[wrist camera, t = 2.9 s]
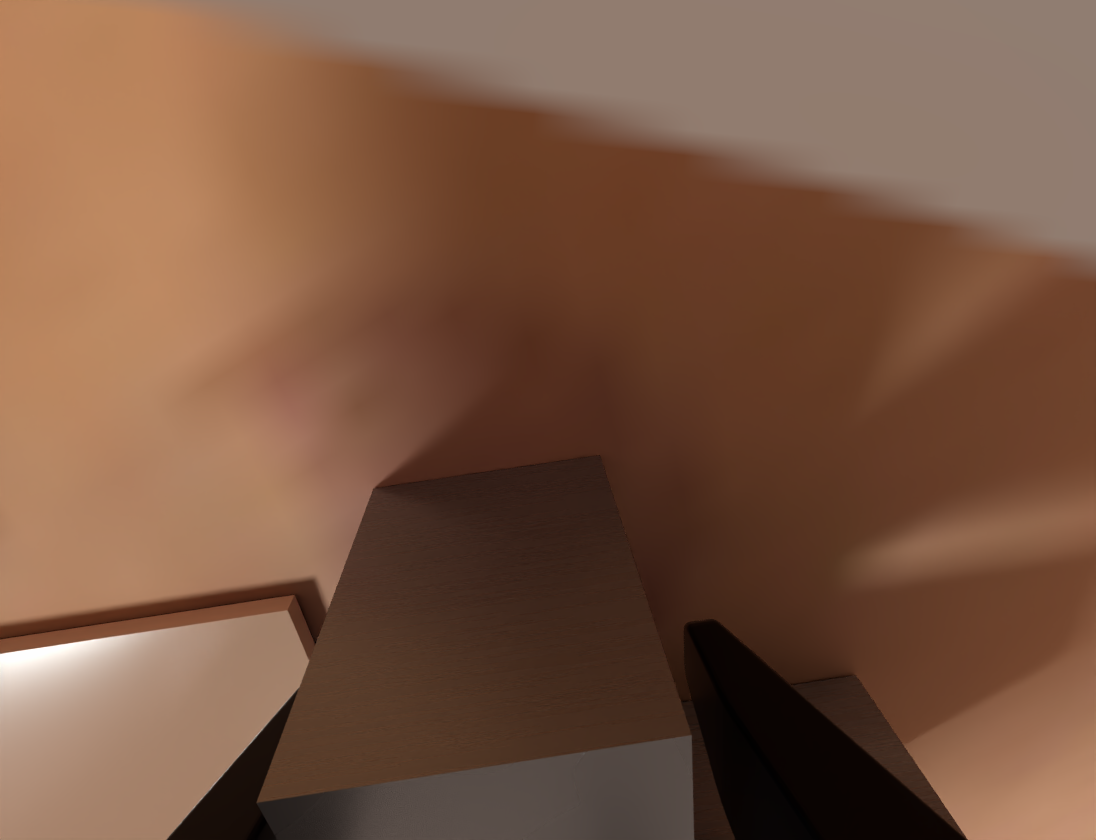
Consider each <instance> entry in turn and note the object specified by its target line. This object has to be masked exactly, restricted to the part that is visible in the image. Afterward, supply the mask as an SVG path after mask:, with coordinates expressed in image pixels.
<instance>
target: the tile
mask: <svg viewBox="0 0 1096 840" xmlns="http://www.w3.org/2000/svg"><path fill="white" fill-rule="evenodd" d="M314 647H315V643H314V641H313V638H312V636H311V633H310V631H309V629H308V626H307V624H306V621H305V619H304V616H303V614H302V612H301V609H300V607H299V604H298V602H297V600H296V597H295V595H290V596H284V597H277V598H270V599H264V600H257V601H251V602H244V603H238V604H231V605H224V606H218V607H211V608H205V609H198V610H191V611H185V612H178V613H172V614H165V615H158V616H152V617H145V618H139V619H132V620H125V621H119V622H112V623H106V624H99V625H92V626H86V627H79V628H73V629H66V630H59V631H53V632H46V633H40V634H33V635H26V636H20V637H13V638H7V639H0V840H166V839H167V838H168V837H169V836H170V834H171V833H172V832H173V831H174V830H175V829H176V828H177V826H178V825H179V824H180V823H181V822H182V821H183V820H184V818H185V817H186V816H187V815H188V814H189V813H190V811H191V810H192V809H193V808H194V807H195V806H196V805H197V803H198V802H199V801H200V800H201V799H202V798H203V797H204V795H205V794H206V793H207V792H208V791H209V790H210V789H211V787H212V786H213V785H214V784H215V783H216V782H217V781H218V779H219V778H220V777H221V776H222V775H223V774H224V773H225V771H226V770H227V769H228V768H229V767H230V766H231V765H232V763H233V762H234V761H235V760H236V759H237V758H238V756H239V755H240V754H241V753H242V752H243V751H244V750H245V748H246V747H247V746H248V745H249V744H250V743H251V742H252V740H253V739H254V738H255V737H256V736H257V735H258V734H259V732H260V731H261V730H262V729H263V728H264V727H265V726H266V724H267V723H268V722H269V721H270V720H271V719H272V718H273V716H274V715H275V714H276V713H277V712H278V711H279V709H280V708H281V707H282V706H283V705H284V704H285V703H286V701H287V700H288V699H289V698H290V697H291V696H292V695H293V693H294V692H295V691H296V690H297V689H298V688H299V687H300V684H301V682H302V679H303V676H304V674H305V671H306V668H307V666H308V663H309V660H310V658H311V655H312V652H313V650H314Z"/></svg>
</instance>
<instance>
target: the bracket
mask: <svg viewBox="0 0 1096 840" xmlns="http://www.w3.org/2000/svg"><path fill="white" fill-rule="evenodd" d="M791 686H792V687H794V688H795V689H796V690H797V691H798V692H799V693H800V694H802V695H803V696H804V697H805V698H806V699H807V700H808V701H810V702H811V703H812V704H813V705H814V706H815V707H816V708H818V709H819V710H820V711H821V712H822V713H823V714H824V715H826V716H827V717H828V718H829V719H830V720H831V721H833V722H834V723H835V724H836V725H837V726H838V727H839V728H841V729H842V730H843V731H844V732H845V733H846V734H847V735H849V736H850V737H851V738H852V739H853V740H854V741H855V742H857V743H858V744H859V745H860V746H861V747H862V748H863V749H865V750H866V751H867V752H868V753H869V754H870V755H871V756H873V757H874V758H875V759H876V760H877V761H878V762H879V763H881V764H882V765H883V766H884V767H885V768H886V769H887V770H889V771H890V772H891V773H892V774H893V775H894V776H895V777H897V778H898V779H899V780H900V781H901V782H902V783H903V784H905V785H906V786H907V787H908V788H909V789H910V790H911V791H913V792H914V793H915V794H916V795H917V796H918V797H919V798H921V799H922V800H923V801H924V802H925V803H926V804H927V805H929V806H930V807H931V808H932V809H933V810H934V811H935V812H937V813H938V814H939V815H940V816H941V817H942V818H943V819H945V820H946V821H947V822H948V823H949V824H950V825H952V826H953V827H954V828H955V829H956V830H957V831H958V832H960V833H961V834H962V835H963V836H964V837H965V835H964V834H963V832H962V831H961V829H960V828H959V826H958V825H957V823H956V822H955V820H954V819H953V817H952V816H951V815H950V813H949V812H948V810H947V809H946V807H945V806H944V804H943V803H942V801H941V800H940V798H939V797H938V795H937V794H936V792H935V791H934V789H933V788H932V787H931V785H930V784H929V782H928V781H927V779H926V778H925V776H924V775H923V773H922V772H921V770H920V769H919V767H918V766H917V764H916V763H915V762H914V760H913V759H912V757H911V756H910V754H909V753H908V751H907V750H906V748H905V747H904V745H903V744H902V742H901V741H900V739H899V738H898V737H897V735H896V734H895V732H894V731H893V729H892V728H891V726H890V725H889V723H888V722H887V720H886V719H885V717H884V716H883V714H882V713H881V711H880V710H879V709H878V707H877V706H876V704H875V703H874V701H873V700H872V698H871V697H870V695H869V694H868V692H867V691H866V689H865V688H864V686H863V685H862V684H861V682H860V681H859V679H858V678H857V676H856V675H854V676H848V677H841V678H835V679H828V680H822V681H815V682H809V683H802V684H796V685H791ZM257 805H258V807H259V808H260V810H261V812H262V814H263V815H264V817H265V819H266V821H267V822H268V824H269V826H270V828H271V829H272V831H273V833H274V835H275V836H276V838H277V840H735V838H734V835H733V833H732V830H731V827H730V825H729V822H728V819H727V817H726V814H725V811H724V808H723V806H722V803H721V799H720V796H719V793H718V790H717V787H716V783H715V780H714V776H713V773H712V769H711V765H710V762H709V758H708V755H707V751H706V748H705V744H704V741H703V737H702V733H701V730H700V726H699V723H698V719H697V716H696V712H695V708H694V705H693V701H686V702H681V701H680V698H679V695H678V692H677V689H676V686H675V683H674V680H673V677H672V674H671V671H670V668H669V665H668V661H667V658H666V655H665V652H664V649H663V646H662V643H661V640H660V637H659V634H658V631H657V628H656V625H655V622H654V619H653V616H652V613H651V610H650V607H649V604H648V601H647V598H646V595H645V592H644V589H643V585H642V582H641V579H640V576H639V573H638V570H637V567H636V564H635V561H634V558H633V555H632V552H631V549H630V546H629V543H628V540H627V537H626V534H625V531H624V528H623V525H622V522H621V519H620V516H619V513H618V510H617V506H616V503H615V500H614V497H613V494H612V491H611V488H610V485H609V482H608V479H607V476H606V473H605V470H604V467H603V464H602V461H601V458H600V455H599V456H592V457H585V458H578V459H572V460H565V461H558V462H551V463H544V464H538V465H531V466H524V467H517V468H510V469H504V470H497V471H490V472H483V473H476V474H470V475H463V476H456V477H449V478H442V479H436V480H429V481H422V482H415V483H409V484H402V485H395V486H388V487H381V488H375V489H373V491H372V494H371V497H370V499H369V502H368V505H367V507H366V510H365V513H364V515H363V518H362V521H361V523H360V526H359V529H358V531H357V534H356V537H355V540H354V542H353V545H352V548H351V550H350V553H349V556H348V558H347V561H346V564H345V566H344V569H343V572H342V574H341V577H340V580H339V582H338V585H337V588H336V591H335V593H334V596H333V599H332V601H331V604H330V607H329V609H328V612H327V615H326V617H325V620H324V623H323V625H322V628H321V631H320V633H319V636H318V639H317V642H316V644H315V647H314V650H313V652H312V655H311V658H310V660H309V663H308V666H307V668H306V671H305V674H304V676H303V679H302V682H301V684H300V687H299V690H298V692H297V695H296V698H295V701H294V703H293V706H292V709H291V711H290V714H289V717H288V719H287V722H286V725H285V727H284V730H283V733H282V735H281V738H280V741H279V743H278V746H277V749H276V752H275V754H274V757H273V760H272V762H271V765H270V768H269V770H268V773H267V776H266V778H265V781H264V784H263V786H262V789H261V792H260V794H259V797H258V800H257ZM965 838H966V837H965ZM966 839H967V838H966Z"/></svg>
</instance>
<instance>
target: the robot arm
mask: <svg viewBox="0 0 1096 840" xmlns="http://www.w3.org/2000/svg"><path fill="white" fill-rule="evenodd" d="M684 665H685V674H686V679H687V683H688V687H689V691H690V694H691V698H692V701H693V705H694V708H695V712H696V716H697V719H698V723H699V726H700V730H701V733H702V737H703V741H704V744H705V748H706V751H707V755H708V758H709V762H710V765H711V769H712V773H713V776H714V780H715V783H716V787H717V790H718V793H719V796H720V799H721V803H722V806H723V808H724V811H725V814H726V817H727V819H728V822H729V825H730V827H731V830H732V833H733V835H734V838H735V840H968V839H966V838H965V837H964V836H963V835H962V834H961V833H960V832H958V831H957V830H956V829H955V828H954V827H953V826H952V825H950V824H949V823H948V822H947V821H946V820H945V819H943V818H942V817H941V816H940V815H939V814H938V813H937V812H935V811H934V810H933V809H932V808H931V807H930V806H929V805H927V804H926V803H925V802H924V801H923V800H922V799H921V798H919V797H918V796H917V795H916V794H915V793H914V792H913V791H911V790H910V789H909V788H908V787H907V786H906V785H905V784H903V783H902V782H901V781H900V780H899V779H898V778H897V777H895V776H894V775H893V774H892V773H891V772H890V771H889V770H887V769H886V768H885V767H884V766H883V765H882V764H881V763H879V762H878V761H877V760H876V759H875V758H874V757H873V756H871V755H870V754H869V753H868V752H867V751H866V750H865V749H863V748H862V747H861V746H860V745H859V744H858V743H857V742H855V741H854V740H853V739H852V738H851V737H850V736H849V735H847V734H846V733H845V732H844V731H843V730H842V729H841V728H839V727H838V726H837V725H836V724H835V723H834V722H833V721H831V720H830V719H829V718H828V717H827V716H826V715H824V714H823V713H822V712H821V711H820V710H819V709H818V708H816V707H815V706H814V705H813V704H812V703H811V702H810V701H808V700H807V699H806V698H805V697H804V696H803V695H802V694H800V693H799V692H798V691H797V690H796V689H795V688H794V687H792V686H791V685H790V684H789V683H788V682H787V681H786V680H784V679H783V678H782V677H781V676H780V675H779V674H778V673H776V672H775V671H774V670H773V669H772V668H771V667H770V666H768V665H767V664H766V663H765V662H764V661H763V660H762V659H760V658H759V657H758V656H757V655H756V654H755V653H754V652H752V651H751V650H750V649H749V648H748V647H747V646H746V645H744V644H743V643H742V642H741V641H740V640H739V639H738V638H736V637H735V636H734V635H733V634H732V633H731V632H730V631H728V630H727V629H726V628H725V627H724V626H723V625H722V624H720V623H719V622H718V621H716V620H714V619H707V620H700V621H694V622H688V623H687V624H686V625H685V626H684ZM298 690H299V688H298V689H297V690H296V691H295V692H294V693H293V695H292V696H291V697H290V698H289V699H288V700H287V701H286V703H285V704H284V705H283V706H282V707H281V708H280V709H279V711H278V712H277V713H276V714H275V715H274V716H273V718H272V719H271V720H270V721H269V722H268V723H267V724H266V726H265V727H264V728H263V729H262V730H261V731H260V732H259V734H258V735H257V736H256V737H255V738H254V739H253V740H252V742H251V743H250V744H249V745H248V746H247V747H246V748H245V750H244V751H243V752H242V753H241V754H240V755H239V756H238V758H237V759H236V760H235V761H234V762H233V763H232V765H231V766H230V767H229V768H228V769H227V770H226V771H225V773H224V774H223V775H222V776H221V777H220V778H219V779H218V781H217V782H216V783H215V784H214V785H213V786H212V787H211V789H210V790H209V791H208V792H207V793H206V794H205V795H204V797H203V798H202V799H201V800H200V801H199V802H198V803H197V805H196V806H195V807H194V808H193V809H192V810H191V811H190V813H189V814H188V815H187V816H186V817H185V818H184V820H183V821H182V822H181V823H180V824H179V825H178V826H177V828H176V829H175V830H174V831H173V832H172V833H171V834H170V836H169V837H168V838H167V839H166V840H277V838H276V836H275V835H274V833H273V831H272V829H271V828H270V826H269V824H268V822H267V821H266V819H265V817H264V815H263V814H262V812H261V810H260V808H259V807H258V805H257V800H258V797H259V794H260V792H261V789H262V786H263V784H264V781H265V778H266V776H267V773H268V770H269V768H270V765H271V762H272V760H273V757H274V754H275V752H276V749H277V746H278V743H279V741H280V738H281V735H282V733H283V730H284V727H285V725H286V722H287V719H288V717H289V714H290V711H291V709H292V706H293V703H294V701H295V698H296V695H297V692H298Z"/></svg>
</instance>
